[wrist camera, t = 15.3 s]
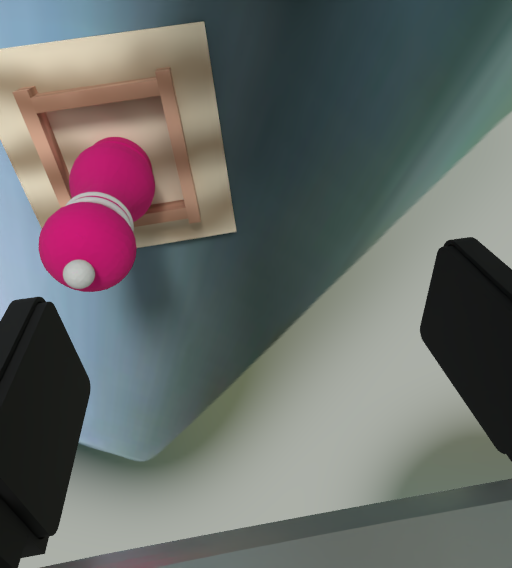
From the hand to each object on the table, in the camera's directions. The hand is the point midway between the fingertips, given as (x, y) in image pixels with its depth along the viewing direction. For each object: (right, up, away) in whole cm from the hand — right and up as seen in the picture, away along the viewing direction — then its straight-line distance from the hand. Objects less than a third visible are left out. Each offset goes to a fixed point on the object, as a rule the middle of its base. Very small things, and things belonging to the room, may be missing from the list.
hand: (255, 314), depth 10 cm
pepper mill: (-13, +12, +30) cm, 35 cm away
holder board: (-13, +14, +30) cm, 36 cm away
